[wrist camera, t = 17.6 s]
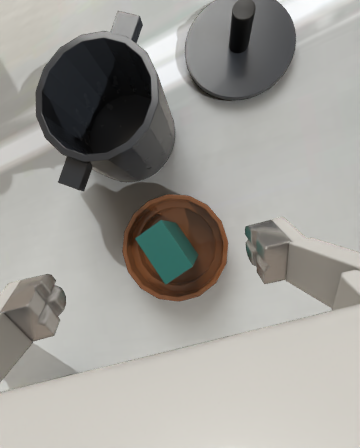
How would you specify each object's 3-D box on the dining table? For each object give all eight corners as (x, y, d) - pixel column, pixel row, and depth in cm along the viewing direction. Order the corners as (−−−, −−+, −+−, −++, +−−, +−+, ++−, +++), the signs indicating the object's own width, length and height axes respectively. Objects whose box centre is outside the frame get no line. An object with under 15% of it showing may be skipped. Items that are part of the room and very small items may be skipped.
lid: (172, 88, 30) (163, 55, 24) (205, -8, 30) (204, -64, 24) (271, 114, 28) (286, 86, 22) (307, 12, 28) (332, -44, 22)
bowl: (138, 196, 30) (128, 191, 26) (229, 202, 29) (232, 198, 25) (130, 284, 30) (118, 293, 26) (220, 296, 28) (222, 307, 24)
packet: (176, 222, 29) (161, 219, 20) (198, 254, 28) (193, 266, 20) (157, 235, 29) (134, 238, 20) (179, 267, 29) (165, 285, 20)
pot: (69, 184, 32) (9, 164, 22) (111, 64, 31) (69, -8, 22) (149, 213, 30) (121, 206, 21) (195, 86, 30) (187, 20, 20)
